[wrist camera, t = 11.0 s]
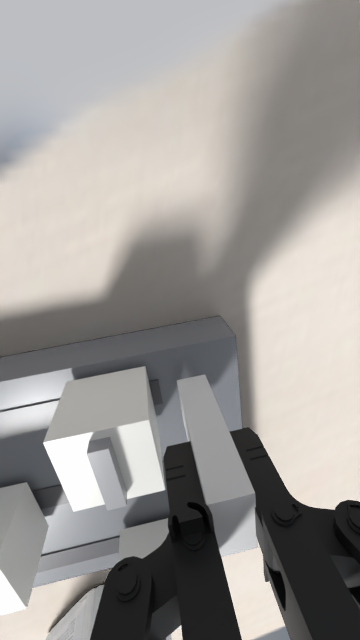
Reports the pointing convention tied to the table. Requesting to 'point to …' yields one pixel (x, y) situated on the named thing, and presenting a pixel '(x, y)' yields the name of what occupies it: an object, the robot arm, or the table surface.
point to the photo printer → (78, 618)
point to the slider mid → (19, 545)
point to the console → (40, 405)
